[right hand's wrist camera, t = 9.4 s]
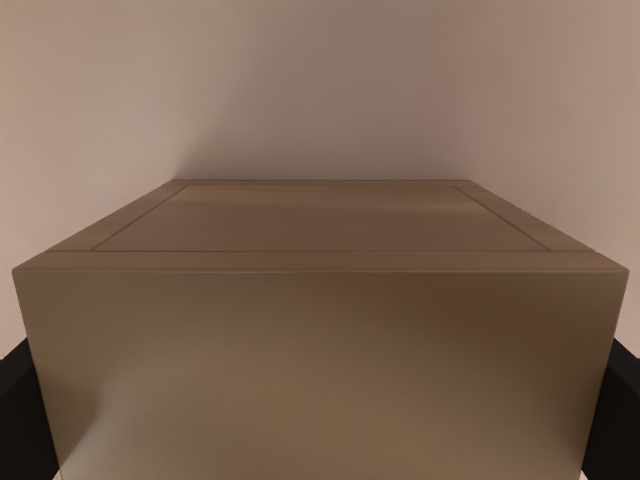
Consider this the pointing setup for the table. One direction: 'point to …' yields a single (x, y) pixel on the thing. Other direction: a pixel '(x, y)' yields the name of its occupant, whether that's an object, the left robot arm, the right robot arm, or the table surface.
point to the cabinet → (320, 335)
